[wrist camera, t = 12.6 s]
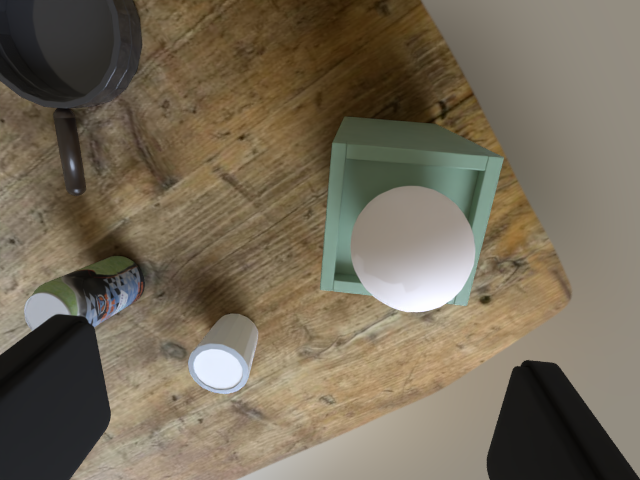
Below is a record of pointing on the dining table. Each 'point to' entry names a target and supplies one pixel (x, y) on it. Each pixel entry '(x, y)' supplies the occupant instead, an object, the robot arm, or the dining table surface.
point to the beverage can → (87, 292)
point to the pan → (69, 50)
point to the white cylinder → (225, 355)
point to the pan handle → (69, 151)
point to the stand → (401, 184)
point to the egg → (412, 248)
